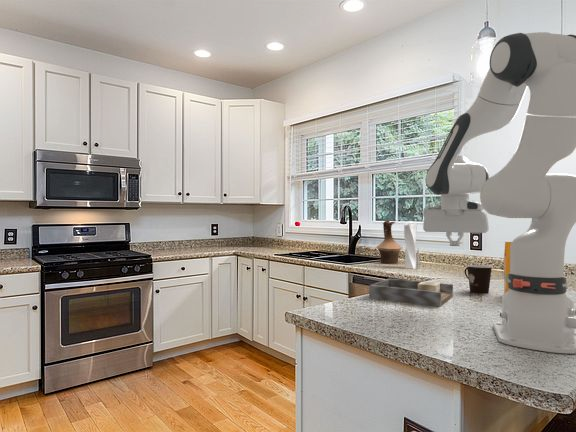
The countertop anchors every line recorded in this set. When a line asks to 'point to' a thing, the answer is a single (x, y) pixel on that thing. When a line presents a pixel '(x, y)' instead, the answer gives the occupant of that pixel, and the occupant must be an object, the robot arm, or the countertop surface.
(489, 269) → the coffee mug
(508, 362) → the countertop surface
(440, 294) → the grey tray
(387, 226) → the brown vase
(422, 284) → the birch block
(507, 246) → the orange juice
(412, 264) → the skyscraper
